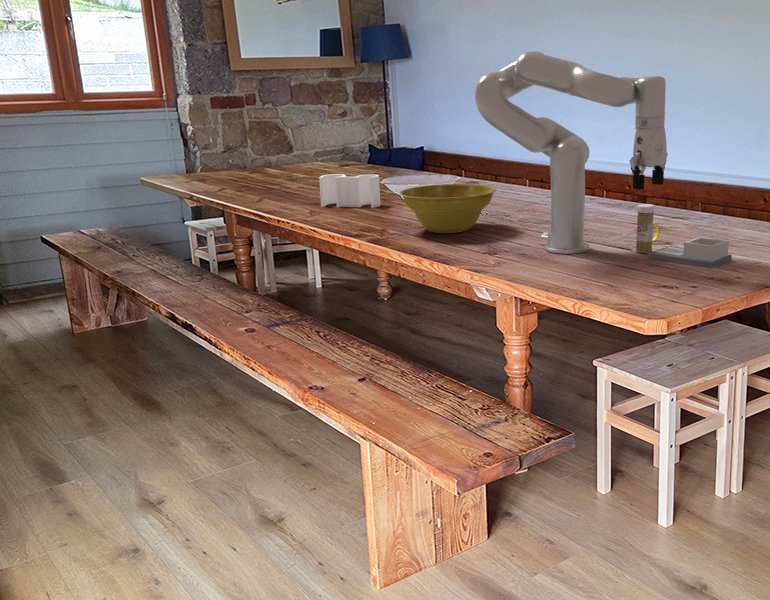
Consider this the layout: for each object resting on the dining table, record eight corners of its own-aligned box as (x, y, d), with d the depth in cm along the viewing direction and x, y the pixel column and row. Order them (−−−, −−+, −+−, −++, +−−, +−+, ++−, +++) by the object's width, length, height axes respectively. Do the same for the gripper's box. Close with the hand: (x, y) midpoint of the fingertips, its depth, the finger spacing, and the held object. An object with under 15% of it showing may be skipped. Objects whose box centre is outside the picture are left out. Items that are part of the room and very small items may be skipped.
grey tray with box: (648, 258, 223) (649, 238, 222) (669, 251, 230) (670, 232, 229) (711, 268, 210) (712, 247, 209) (731, 260, 217) (732, 240, 216)
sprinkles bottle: (632, 252, 231) (634, 205, 227) (641, 249, 234) (643, 203, 230) (646, 254, 228) (648, 207, 224) (655, 251, 230) (657, 204, 227)
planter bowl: (428, 218, 296) (427, 181, 292) (511, 223, 279) (511, 184, 276) (383, 236, 269) (381, 195, 266) (471, 242, 253) (470, 199, 249)
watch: (644, 244, 241) (644, 224, 239) (638, 242, 244) (638, 223, 242) (661, 240, 243) (661, 221, 241) (655, 239, 245) (655, 219, 244)
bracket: (384, 204, 330) (383, 174, 327) (374, 208, 322) (373, 177, 318) (329, 202, 340) (327, 173, 337) (318, 206, 332) (316, 177, 328)
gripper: (644, 127, 213) (643, 192, 217) (679, 121, 223) (677, 183, 228) (619, 126, 218) (618, 190, 223) (654, 120, 229) (652, 181, 234)
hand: (648, 186), depth 225 cm, fingers open, 9 cm apart
